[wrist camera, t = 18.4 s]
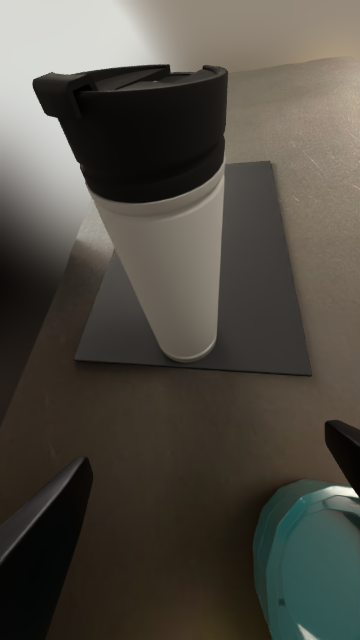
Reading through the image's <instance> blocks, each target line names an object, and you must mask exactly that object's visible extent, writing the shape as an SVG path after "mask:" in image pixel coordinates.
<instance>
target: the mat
mask: <svg viewBox="0 0 360 640" xmlns="http://www.w3.org/2000/svg"><path fill="white" fill-rule="evenodd" d="M224 177H225V178H224V198H223V218H222V239H221V259H220V279H219V299H218V319H217V337H216V343H215V346H214V347H213V349H212V351H211V352H210V353H209V354H208V355H207V356H205V357H204V358H202V359H200V360H198V361H195V362H190V363H183V362H178V361H174V360H172V359H171V358H169V357H168V356H166V355H165V354H164V352H163V351H162V350H161V348H160V346H159V343H158V341H157V339H156V337H155V335H154V332H153V330H152V328H151V326H150V324H149V322H148V319H147V317H146V315H145V313H144V311H143V308H142V306H141V304H140V302H139V300H138V297H137V295H136V293H135V291H134V289H133V287H132V284H131V282H130V280H129V278H128V276H127V273H126V271H125V269H124V267H123V265H122V262H121V260H120V258H119V256H118V254H117V252H116V249H114V251H113V254H112V257H111V260H110V262H109V265H108V268H107V270H106V273H105V276H104V278H103V281H102V284H101V286H100V289H99V292H98V295H97V297H96V300H95V303H94V305H93V308H92V311H91V313H90V316H89V319H88V321H87V324H86V327H85V330H84V332H83V335H82V338H81V340H80V343H79V346H78V348H77V351H76V354H75V356H74V359H73V360H75V361H86V362H101V363H116V364H131V365H146V366H162V367H177V368H192V369H207V370H222V371H237V372H253V373H268V374H283V375H298V376H312V371H311V366H310V361H309V356H308V351H307V346H306V341H305V336H304V331H303V326H302V321H301V316H300V311H299V306H298V300H297V295H296V290H295V285H294V280H293V275H292V270H291V265H290V260H289V255H288V250H287V245H286V240H285V235H284V230H283V225H282V220H281V214H280V209H279V204H278V199H277V194H276V189H275V184H274V179H273V174H272V169H271V164H270V161H260V162H247V163H234V164H225V170H224Z"/></svg>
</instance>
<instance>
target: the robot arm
mask: <svg viewBox="0 0 360 640" xmlns="http://www.w3.org/2000/svg"><path fill="white" fill-rule="evenodd" d="M325 442H326V445H327V447H328V449H329V450H330V452H331V454H332V455H333V457H334V459H335V460H336V462H337V464H338V465H339V467H340V469H341V470H342V472H343V473H344V475H345V477H346V478H347V480H348V482H349V483H350V485H351V487H352V488H353V490H354V491H355V493H356V494H357V496H358V497H359V498H360V430H359V429H357V428H354V427H352V426H350V425H348V424H346V423H344V422H341V421H339V420H330V421H326V422H325ZM92 482H93V472H92V469H91V466H90V462H89V459H88V458H87V457H79V458H76V459H74V460H73V461H72V462H71V463H70V464H69V465H68V466H66V467H65V468H64V469H63V470H62V471H61V472H60V473H59V474H57V475H56V476H55V477H54V478H53V479H52V480H51V481H50V482H49V483H47V484H46V485H45V486H44V487H43V488H42V489H41V490H40V491H39V492H37V493H36V494H35V495H34V496H33V497H32V498H31V499H30V500H29V501H27V502H26V503H25V504H24V505H23V506H22V507H21V508H20V509H19V510H17V511H16V512H15V513H14V514H13V515H12V516H11V517H10V518H9V519H7V520H6V521H5V522H4V523H3V524H2V525H1V526H0V640H45V639H46V636H47V633H48V630H49V627H50V624H51V621H52V618H53V615H54V612H55V609H56V606H57V603H58V599H59V596H60V593H61V590H62V587H63V584H64V581H65V578H66V575H67V572H68V569H69V566H70V563H71V560H72V557H73V554H74V550H75V547H76V544H77V541H78V538H79V535H80V532H81V528H82V524H83V521H84V516H85V512H86V508H87V504H88V499H89V495H90V491H91V487H92Z"/></svg>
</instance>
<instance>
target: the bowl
mask: <svg viewBox="0 0 360 640" xmlns="http://www.w3.org/2000/svg"><path fill="white" fill-rule="evenodd" d="M252 546H253V570H254V584H255V589H256V592H257V596H258V599H259V602H260V605H261V608H262V611H263V614H264V618H265V621H266V624H267V627H268V630H269V633H270V636H271V639H272V640H360V498H359V497H358V496H357V494H356V493H355V491H354V490H353V488H352V487H351V486H350V485H345V484H340V483H335V482H329V481H321V480H314V479H302V480H299V481H297V482H294V483H291V484H288V485H286V486H283V487H281V488H279V489H278V491H277V492H276V493H275V494H274V495H273V496H272V498H271V499H270V500H269V501H268V502H267V503H266V505H265V506H264V507H263V508H262V510H261V514H260V517H259V520H258V524H257V527H256V531H255V534H254V538H253V544H252Z"/></svg>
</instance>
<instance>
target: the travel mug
mask: <svg viewBox="0 0 360 640" xmlns="http://www.w3.org/2000/svg"><path fill="white" fill-rule="evenodd" d="M227 83H228V71H227V70H226V69H225V68H222V67H218V66H210V65H204V66H203V69H202V70H199V71H197V72H174V73H170V65H169V64H162V65H141V66H129V67H118V68H109V69H101V70H94V71H88V72H81V73H76V74H71V75H63V74H55V73H53V72H51V73H49V74H46V75H43V76H41V77H39V78H36V79H34V80H33V89H34V91H35V93H36V95H37V98H38V100H39V102H40V104H41V106H42V108H43V110H44V113H45V114H46V115H48V116H52V117H56V118H58V120H59V122H60V125H61V127H62V129H63V131H64V134H65V136H66V138H67V140H68V143H69V145H70V147H71V149H72V151H73V154H74V156H75V158H76V160H77V162H79V163H80V169H81V171H82V174H83V176H84V178H85V181H86V182H85V183H86V186H87V188H88V190H89V192H90V194H91V197H92V198H93V200H94V203H95V205H96V208H97V210H98V212H99V214H100V217H101V219H102V221H103V223H104V225H105V227H106V230H107V232H108V234H109V236H110V238H111V241H112V243H113V245H114V247H115V249H116V252H117V254H118V256H119V258H120V260H121V262H122V265H123V267H124V269H125V271H126V273H127V276H128V278H129V280H130V282H131V284H132V287H133V289H134V291H135V293H136V295H137V297H138V300H139V302H140V304H141V306H142V308H143V311H144V313H145V315H146V317H147V319H148V322H149V324H150V326H151V328H152V330H153V332H154V335H155V337H156V339H157V341H158V343H159V346H160V348H161V350H162V351H163V352H164V354H165V355H166V356H168V357H169V358H171V359H172V360H174V361H178V362H183V363H190V362H195V361H198V360H200V359H202V358H204V357H205V356H207V355H208V354H209V353H210V352H211V351H212V349H213V347H214V346H215V343H216V337H217V319H218V299H219V279H220V259H221V239H222V218H223V198H224V178H225V177H224V170H225V158H226V156H225V152H224V151H225V139H224V136H223V134H224V132H225V126H226V106H227Z"/></svg>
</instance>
